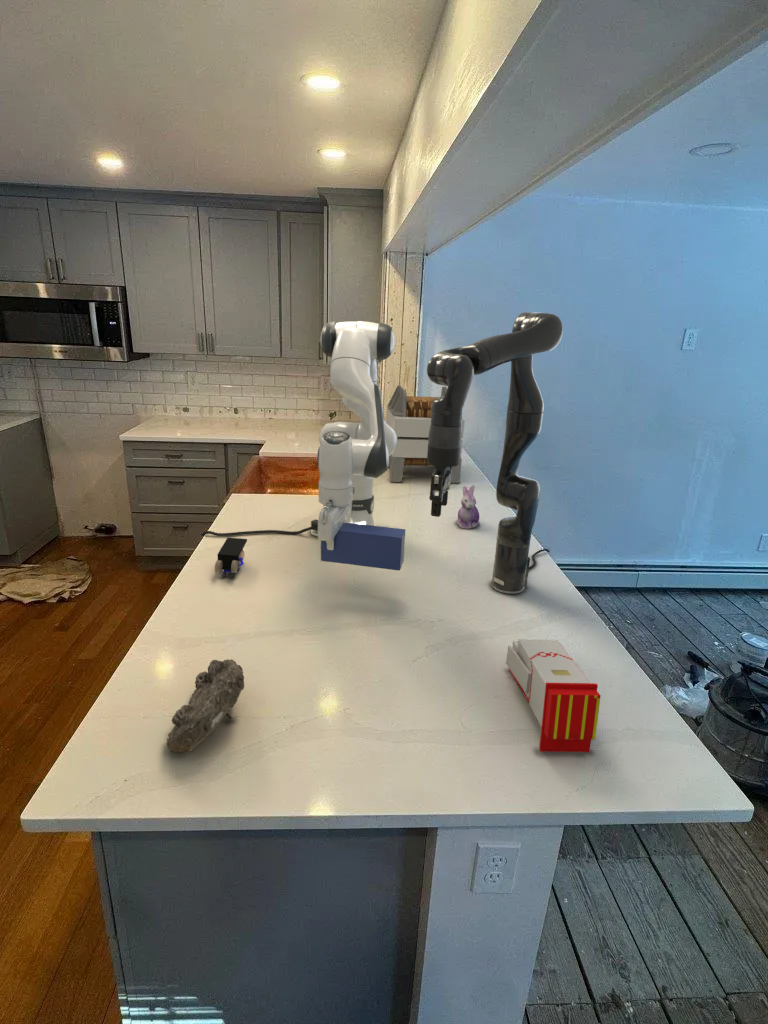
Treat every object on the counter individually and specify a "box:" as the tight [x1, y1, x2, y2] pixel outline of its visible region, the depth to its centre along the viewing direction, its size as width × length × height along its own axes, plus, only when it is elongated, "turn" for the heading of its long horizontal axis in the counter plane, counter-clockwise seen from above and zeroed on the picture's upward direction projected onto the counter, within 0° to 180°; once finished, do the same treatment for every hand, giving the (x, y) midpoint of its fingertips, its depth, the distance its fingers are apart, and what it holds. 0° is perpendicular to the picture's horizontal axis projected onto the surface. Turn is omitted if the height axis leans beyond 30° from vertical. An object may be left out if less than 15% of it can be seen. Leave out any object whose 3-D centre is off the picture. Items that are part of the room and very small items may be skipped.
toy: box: [505, 638, 602, 753], centre depth 114 cm, size 12×13×30 cm
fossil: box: [166, 658, 245, 754], centre depth 106 cm, size 22×10×15 cm
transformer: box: [385, 384, 465, 484], centre depth 268 cm, size 34×33×41 cm
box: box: [320, 522, 406, 572], centre depth 151 cm, size 22×6×9 cm, turn 79°
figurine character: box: [214, 537, 248, 578], centre depth 166 cm, size 7×8×15 cm
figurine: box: [456, 484, 480, 530], centre depth 209 cm, size 9×10×15 cm
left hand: (334, 543), depth 152 cm, fingers closed on box, 6 cm apart
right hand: (439, 510), depth 135 cm, fingers open, 8 cm apart
